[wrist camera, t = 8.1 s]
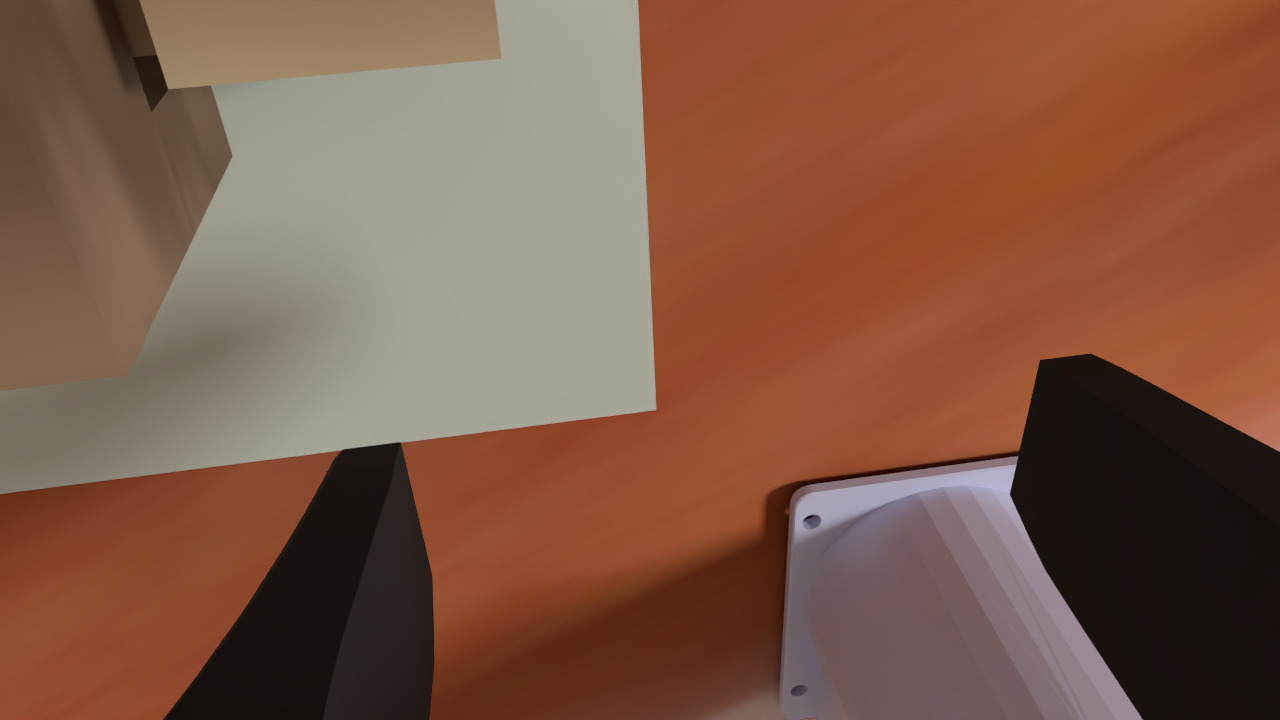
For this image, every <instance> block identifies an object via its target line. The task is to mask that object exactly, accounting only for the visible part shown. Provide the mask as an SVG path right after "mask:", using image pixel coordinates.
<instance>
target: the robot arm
mask: <svg viewBox="0 0 1280 720" xmlns="http://www.w3.org/2000/svg"><path fill="white" fill-rule="evenodd" d="M810 515H814V516H813V517H812V518H809V519H805V518H806V517H807V516H810ZM433 671H434V619H433V585H432V573H431V569H430V565H429V560H428V556H427V552H426V548H425V543H424V539H423V535H422V531H421V526H420V522H419V518H418V514H417V509H416V505H415V501H414V497H413V493H412V488H411V484H410V480H409V476H408V471H407V467H406V463H405V459H404V454H403V450H402V446H401V442H397V443H389V444H381V445H373V446H365V447H358V448H350V449H343V450H342V451H341V452H340V453H339V454H338V456H337V457H336V458H335V459H334V461H333V463H332V464H331V466H330V468H329V470H328V472H327V474H326V476H325V477H324V479H323V481H322V483H321V485H320V486H319V488H318V490H317V492H316V494H315V496H314V497H313V499H312V501H311V503H310V504H309V506H308V508H307V510H306V511H305V513H304V515H303V517H302V518H301V520H300V522H299V523H298V525H297V527H296V528H295V530H294V532H293V533H292V535H291V537H290V538H289V540H288V542H287V544H286V545H285V547H284V548H283V550H282V552H281V553H280V555H279V556H278V558H277V559H276V561H275V563H274V564H273V566H272V567H271V569H270V570H269V572H268V574H267V575H266V577H265V578H264V580H263V581H262V583H261V585H260V586H259V588H258V589H257V591H256V592H255V594H254V596H253V597H252V599H251V600H250V602H249V603H248V605H247V606H246V608H245V609H244V611H243V612H242V614H241V615H240V616H239V618H238V619H237V621H236V622H235V623H234V625H233V626H232V628H231V629H230V630H229V632H228V633H227V635H226V636H225V637H224V639H223V640H222V642H221V643H220V644H219V646H218V647H217V649H216V650H215V651H214V653H213V654H212V656H211V657H210V658H209V660H208V661H207V663H206V664H205V665H204V667H203V668H202V670H201V671H200V672H199V674H198V675H197V677H196V678H195V679H194V680H193V682H192V683H191V684H190V686H189V687H188V688H187V690H186V691H185V692H184V694H183V695H182V696H181V697H180V699H179V700H178V701H177V703H176V704H175V705H174V706H173V708H172V709H171V710H170V711H169V713H168V714H167V715H166V716H165V718H164V719H163V720H429V716H430V705H431V694H432V682H433ZM779 707H780V710H781V713H782V716H783V717H784V718H785V719H789V720H800V719H806V718H813V717H815V719H816V720H1280V452H1279V451H1277V450H1275V449H1273V448H1271V447H1269V446H1267V445H1265V444H1263V443H1262V442H1260V441H1258V440H1256V439H1254V438H1252V437H1250V436H1248V435H1246V434H1245V433H1243V432H1241V431H1239V430H1237V429H1235V428H1233V427H1231V426H1230V425H1228V424H1226V423H1224V422H1222V421H1220V420H1218V419H1217V418H1215V417H1213V416H1211V415H1209V414H1207V413H1205V412H1204V411H1202V410H1200V409H1198V408H1196V407H1194V406H1192V405H1191V404H1189V403H1187V402H1185V401H1183V400H1181V399H1180V398H1178V397H1176V396H1174V395H1172V394H1170V393H1168V392H1167V391H1165V390H1163V389H1161V388H1159V387H1157V386H1155V385H1153V384H1152V383H1150V382H1148V381H1146V380H1144V379H1142V378H1140V377H1138V376H1136V375H1134V374H1132V373H1130V372H1129V371H1127V370H1125V369H1123V368H1121V367H1119V366H1116V365H1114V364H1112V363H1110V362H1108V361H1106V360H1104V359H1102V358H1099V357H1097V356H1095V355H1093V354H1084V355H1076V356H1069V357H1061V358H1053V359H1045V360H1040V363H1039V367H1038V372H1037V376H1036V380H1035V385H1034V389H1033V394H1032V398H1031V402H1030V407H1029V411H1028V416H1027V420H1026V425H1025V429H1024V433H1023V438H1022V442H1021V447H1020V451H1019V455H1018V456H1015V457H1008V458H1000V459H993V460H986V461H979V462H971V463H964V464H957V465H950V466H942V467H935V468H928V469H920V470H913V471H906V472H899V473H891V474H884V475H877V476H870V477H862V478H855V479H848V480H841V481H833V482H826V483H819V484H812V485H807V486H804V487H801V488H800V489H798V490H797V491H796V492H795V493H794V494H793V495H792V497H791V501H790V514H789V532H788V550H787V567H786V585H785V603H784V620H783V638H782V656H781V673H780V691H779Z"/></svg>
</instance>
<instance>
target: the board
mask: <svg viewBox="0 0 1280 720" xmlns="http://www.w3.org/2000/svg"><path fill="white" fill-rule="evenodd" d="M495 6H496V14H497V23H498V32H499V41H500V50H501V59H493V60H482V61H472V62H461V63H450V64H439V65H428V66H417V67H406V68H395V69H384V70H373V71H362V72H351V73H341V74H330V75H319V76H308V77H297V78H286V79H275V80H264V81H253V82H242V83H231V84H220V85H211V87H212V90H213V93H214V97H215V100H216V103H217V107H218V110H219V113H220V116H221V120H222V123H223V126H224V130H225V133H226V136H227V139H228V143H229V146H230V149H231V152H232V156H233V157H232V159H231V161H230V163H229V165H228V167H227V169H226V171H225V173H224V175H223V177H222V180H221V182H220V184H219V186H218V188H217V190H216V192H215V194H214V196H213V198H212V200H211V202H210V204H209V207H208V209H207V211H206V213H205V215H204V217H203V219H202V221H201V223H200V225H199V227H198V229H197V232H196V234H195V236H194V238H193V240H192V242H191V244H190V246H189V248H188V250H187V252H186V254H185V257H184V259H183V261H182V263H181V265H180V267H179V269H178V271H177V273H176V275H175V277H174V279H173V281H172V284H171V286H170V288H169V290H168V292H167V294H166V296H165V298H164V300H163V302H162V304H161V306H160V309H159V311H158V313H157V315H156V317H155V319H154V321H153V323H152V325H151V327H150V329H149V331H148V334H147V336H146V338H145V340H144V342H143V344H142V346H141V348H140V350H139V352H138V354H137V356H136V358H135V361H134V363H133V365H132V367H131V369H130V371H129V373H128V375H127V376H119V377H111V378H103V379H95V380H86V381H78V382H70V383H62V384H54V385H46V386H38V387H30V388H22V389H14V390H6V391H0V494H4V493H12V492H20V491H28V490H35V489H43V488H51V487H59V486H67V485H74V484H82V483H90V482H98V481H106V480H113V479H121V478H129V477H137V476H145V475H152V474H160V473H168V472H176V471H184V470H191V469H199V468H207V467H215V466H223V465H231V464H238V463H246V462H254V461H262V460H270V459H277V458H285V457H293V456H301V455H309V454H316V453H324V452H332V451H340V450H343V449H350V448H358V447H365V446H373V445H381V444H389V443H397V442H401V443H402V442H410V441H418V440H426V439H433V438H441V437H449V436H457V435H465V434H473V433H480V432H488V431H496V430H504V429H512V428H519V427H527V426H535V425H543V424H551V423H558V422H566V421H574V420H582V419H590V418H597V417H605V416H613V415H621V414H629V413H636V412H644V411H652V410H656V395H655V372H654V350H653V328H652V305H651V283H650V260H649V238H648V216H647V193H646V171H645V149H644V126H643V104H642V82H641V59H640V37H639V15H638V0H495Z"/></svg>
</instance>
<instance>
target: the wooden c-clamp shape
mask: <svg viewBox="0 0 1280 720" xmlns="http://www.w3.org/2000/svg"><path fill="white" fill-rule="evenodd" d="M232 157H233V156H232V152H231V149H230V146H229V143H228V139H227V136H226V133H225V130H224V126H223V123H222V120H221V116H220V113H219V110H218V107H217V103H216V100H215V97H214V93H213V90H212V87H211V85H210V86H199V87H188V88H177V89H168V87H167V84H166V81H165V78H164V74H163V71H162V68H161V65H160V62H159V59H158V56H157V55H152V56H141V57H132V55H131V52H130V49H129V46H128V43H127V41H126V38H125V35H124V32H123V29H122V26H121V23H120V20H119V17H118V15H117V12H116V9H115V6H114V3H113V0H0V391H6V390H14V389H22V388H30V387H38V386H46V385H54V384H62V383H70V382H78V381H86V380H95V379H103V378H111V377H119V376H127V375H128V373H129V371H130V369H131V367H132V365H133V363H134V361H135V358H136V356H137V354H138V352H139V350H140V348H141V346H142V344H143V342H144V340H145V338H146V336H147V334H148V331H149V329H150V327H151V325H152V323H153V321H154V319H155V317H156V315H157V313H158V311H159V309H160V306H161V304H162V302H163V300H164V298H165V296H166V294H167V292H168V290H169V288H170V286H171V284H172V281H173V279H174V277H175V275H176V273H177V271H178V269H179V267H180V265H181V263H182V261H183V259H184V257H185V254H186V252H187V250H188V248H189V246H190V244H191V242H192V240H193V238H194V236H195V234H196V232H197V229H198V227H199V225H200V223H201V221H202V219H203V217H204V215H205V213H206V211H207V209H208V207H209V204H210V202H211V200H212V198H213V196H214V194H215V192H216V190H217V188H218V186H219V184H220V182H221V180H222V177H223V175H224V173H225V171H226V169H227V167H228V165H229V163H230V161H231V159H232Z"/></svg>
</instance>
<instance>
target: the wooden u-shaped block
mask: <svg viewBox="0 0 1280 720" xmlns="http://www.w3.org/2000/svg"><path fill="white" fill-rule="evenodd" d="M113 3H114V6H115V9H116V12H117V15H118V17H119V20H120V23H121V26H122V29H123V32H124V35H125V38H126V41H127V43H128V46H129V49H130V52H131V55H132V57H141V56H152V55H157V56H158V59H159V62H160V65H161V68H162V71H163V74H164V78H165V81H166V84H167V87H168V89H177V88H188V87H199V86H210V85H220V84H231V83H242V82H253V81H264V80H275V79H286V78H297V77H308V76H319V75H330V74H341V73H351V72H362V71H373V70H384V69H395V68H406V67H417V66H428V65H439V64H450V63H461V62H472V61H482V60H493V59H501V50H500V41H499V32H498V23H497V14H496V6H495V0H113Z"/></svg>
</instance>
